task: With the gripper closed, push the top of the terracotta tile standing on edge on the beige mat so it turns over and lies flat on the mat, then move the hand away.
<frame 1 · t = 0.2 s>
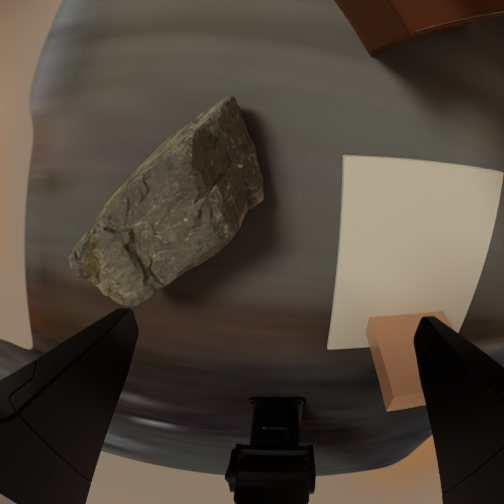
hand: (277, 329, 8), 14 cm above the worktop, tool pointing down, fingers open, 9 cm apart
terracotta tile: (405, 322, 25), resting on beige mat
beige mat: (418, 265, 23), on the worktop
rock: (182, 198, 22), on the worktop
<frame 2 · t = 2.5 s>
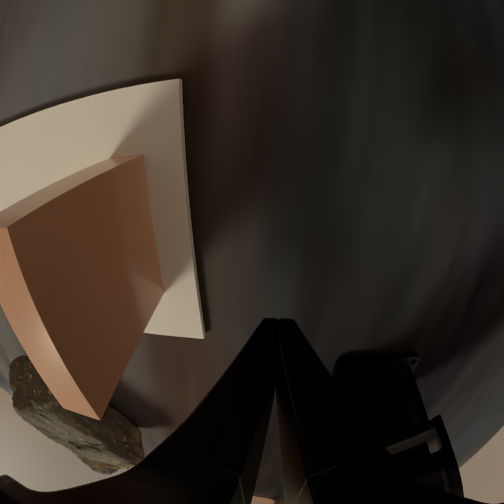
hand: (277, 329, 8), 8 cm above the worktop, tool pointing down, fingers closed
terracotta tile: (136, 229, 15), resting on beige mat
beige mat: (61, 227, 16), on the worktop
rock: (84, 391, 26), on the worktop
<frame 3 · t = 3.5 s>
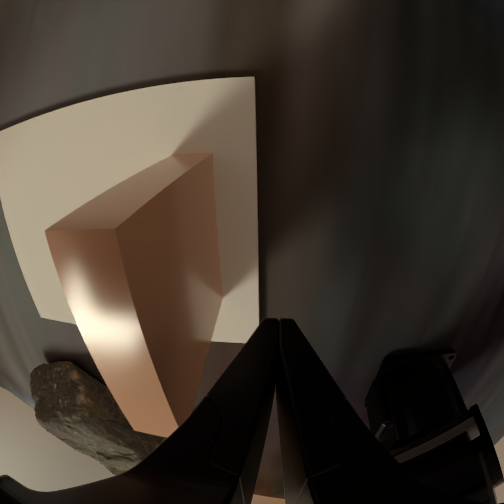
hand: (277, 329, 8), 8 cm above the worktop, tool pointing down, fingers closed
terracotta tile: (198, 232, 15), resting on beige mat
beige mat: (104, 229, 16), on the worktop
rock: (111, 398, 25), on the worktop
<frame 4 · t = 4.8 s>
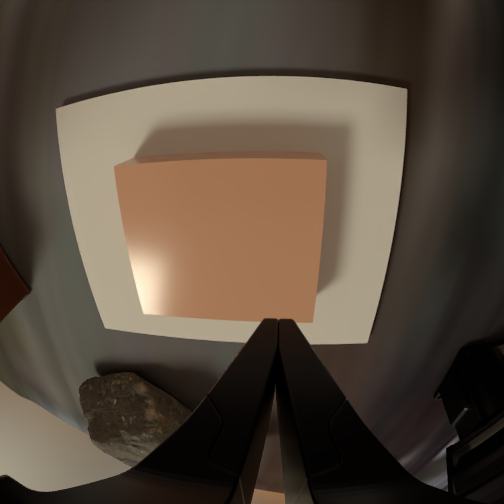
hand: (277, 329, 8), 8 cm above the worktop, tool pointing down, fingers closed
terracotta tile: (318, 242, 14), point 1 cm above the worktop, tilted 90°, touching beige mat
beige mat: (219, 227, 15), on the worktop
rock: (173, 409, 25), on the worktop
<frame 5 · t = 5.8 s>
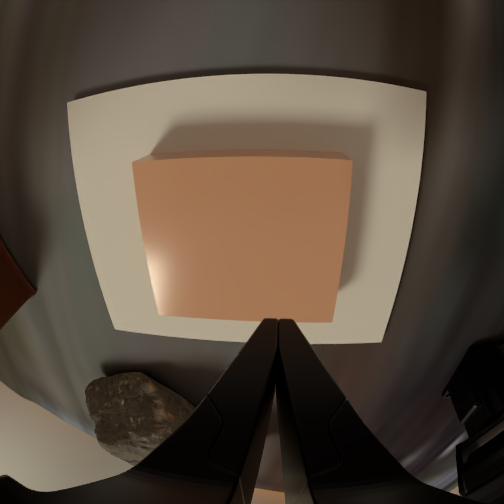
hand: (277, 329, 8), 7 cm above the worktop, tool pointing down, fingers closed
terracotta tile: (339, 241, 14), point 1 cm above the worktop, tilted 90°, touching beige mat
beige mat: (238, 226, 15), on the worktop
rock: (181, 409, 24), on the worktop
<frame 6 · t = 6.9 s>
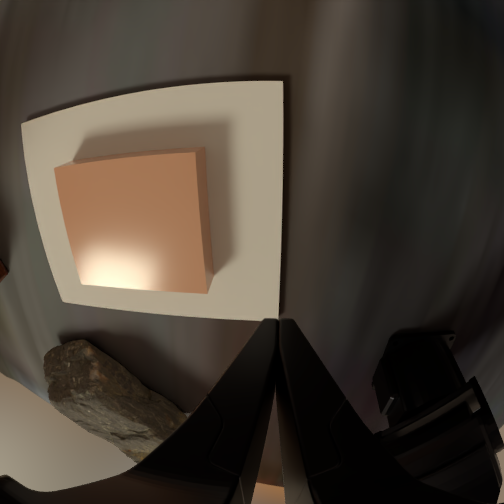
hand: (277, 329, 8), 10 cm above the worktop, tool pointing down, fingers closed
terracotta tile: (205, 222, 16), point 1 cm above the worktop, tilted 90°, touching beige mat
beige mat: (136, 213, 18), on the worktop
rock: (125, 378, 27), on the worktop
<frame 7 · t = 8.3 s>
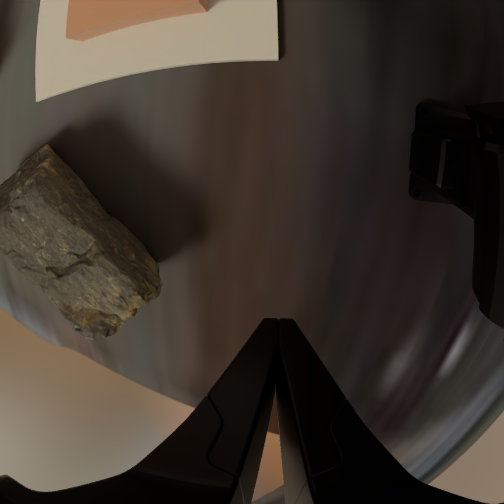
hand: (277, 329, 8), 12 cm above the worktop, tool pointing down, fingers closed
rock: (85, 213, 21), on the worktop
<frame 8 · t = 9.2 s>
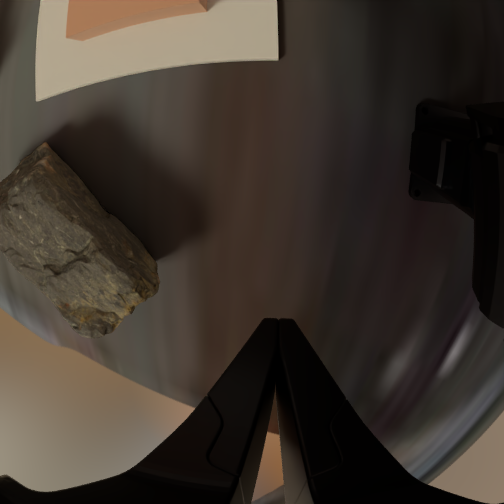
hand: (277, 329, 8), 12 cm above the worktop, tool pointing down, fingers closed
rock: (83, 211, 21), on the worktop
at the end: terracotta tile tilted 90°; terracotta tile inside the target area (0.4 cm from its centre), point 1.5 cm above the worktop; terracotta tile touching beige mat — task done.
